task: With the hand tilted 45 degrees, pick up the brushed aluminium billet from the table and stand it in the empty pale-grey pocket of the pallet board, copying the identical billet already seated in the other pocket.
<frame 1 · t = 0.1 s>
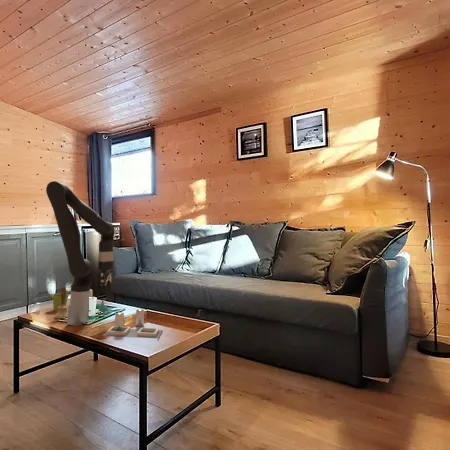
hand: (106, 291, 183), 17 cm above the table, tool pointing down, fingers open, 8 cm apart
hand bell: (61, 317, 194), on the table
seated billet: (118, 332, 167), resting on pallet board
aluminium billet: (139, 327, 181), on the table
pallet board: (133, 335, 168), on the table
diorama: (108, 314, 206), on the table
plant pot: (59, 310, 209), on the table
photo printer: (83, 309, 214), on the table
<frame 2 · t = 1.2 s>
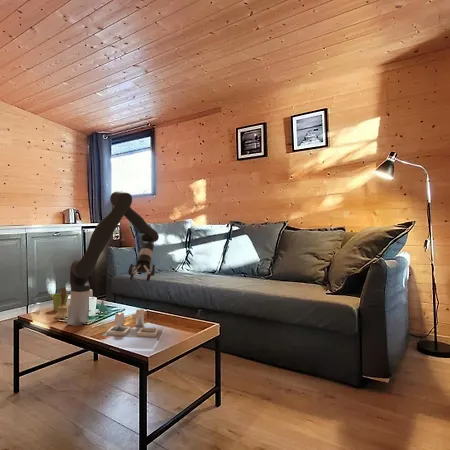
hand: (139, 280, 191), 22 cm above the table, tool tilted 45°, fingers open, 8 cm apart
nothing on the table moved.
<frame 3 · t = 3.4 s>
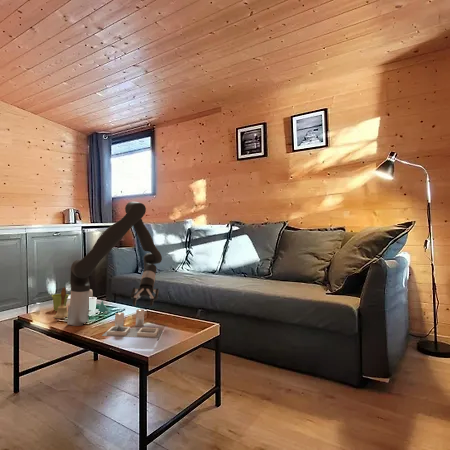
hand: (142, 305, 185), 10 cm above the table, tool tilted 45°, fingers open, 8 cm apart
nothing on the table moved.
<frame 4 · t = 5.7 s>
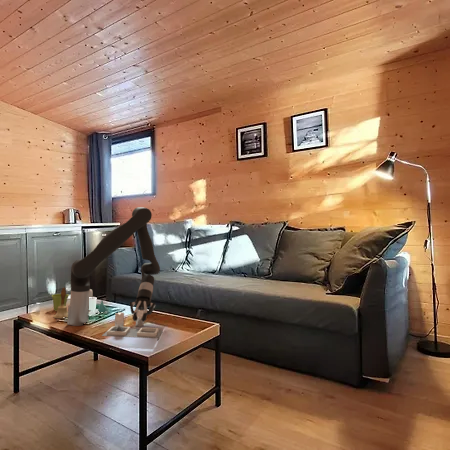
hand: (139, 320, 179), 4 cm above the table, tool tilted 45°, fingers closed on aluminium billet, 4 cm apart
aluminium billet: (139, 327, 181), on the table, touching gripper
everything else where it was.
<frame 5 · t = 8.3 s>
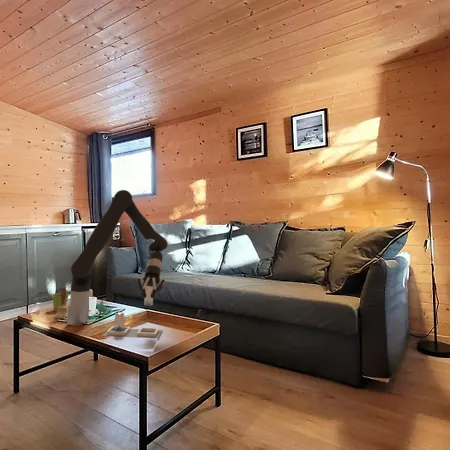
hand: (148, 297, 169), 18 cm above the table, tool tilted 45°, fingers closed on aluminium billet, 4 cm apart
aluminium billet: (148, 304, 171), point 14 cm above the table, touching gripper
everything else where it was.
when the fingers open (6 cm above the table, at t = 11.3 s): aluminium billet drops 1 cm, resting on pallet board.
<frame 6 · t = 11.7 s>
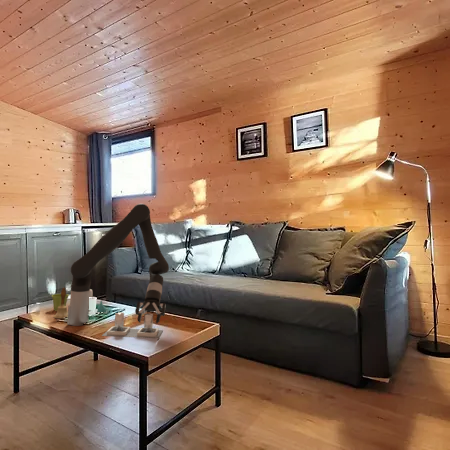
hand: (148, 322, 166), 7 cm above the table, tool tilted 45°, fingers open, 8 cm apart
aluminium billet: (147, 333, 168), point 1 cm above the table, touching pallet board
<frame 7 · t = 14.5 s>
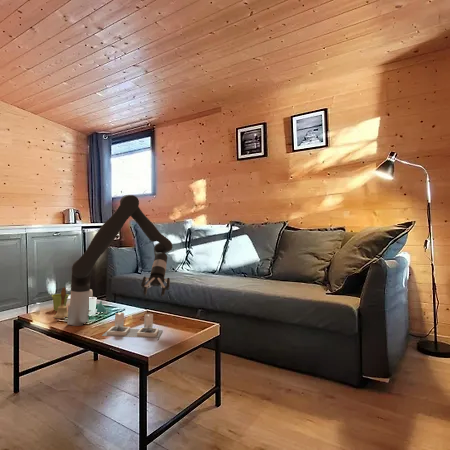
hand: (153, 295, 177), 18 cm above the table, tool tilted 45°, fingers open, 8 cm apart
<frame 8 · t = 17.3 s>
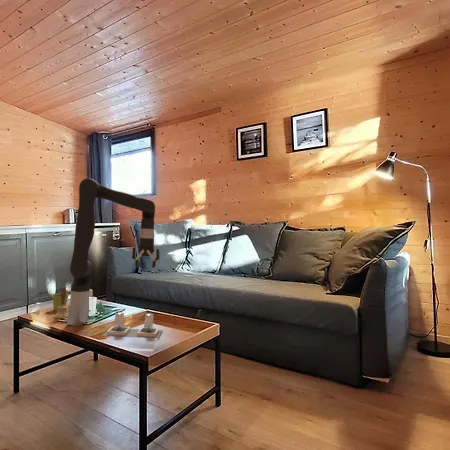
hand: (145, 267, 188), 30 cm above the table, tool pointing down, fingers open, 8 cm apart
at the end: aluminium billet 0.1 cm from the target spot on the pallet board, point 1.0 cm above the pallet board's base; aluminium billet tilted 1°; the gripper is holding nothing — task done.
